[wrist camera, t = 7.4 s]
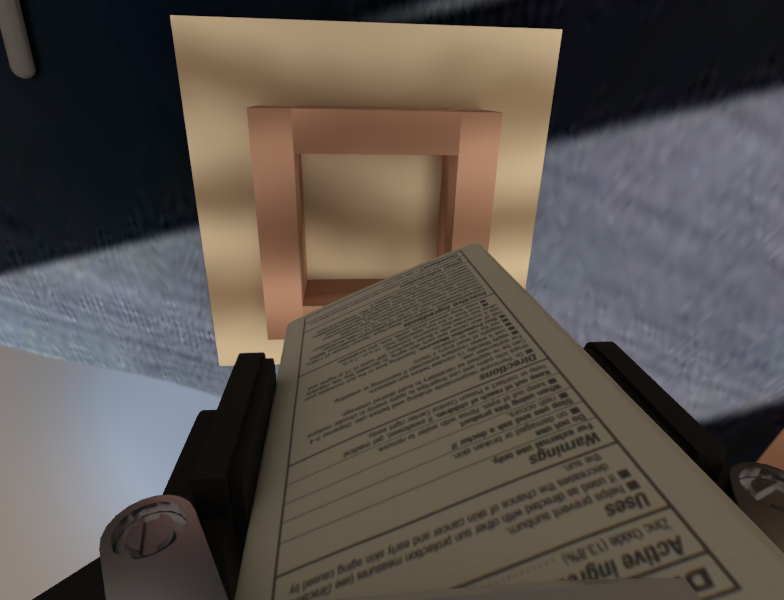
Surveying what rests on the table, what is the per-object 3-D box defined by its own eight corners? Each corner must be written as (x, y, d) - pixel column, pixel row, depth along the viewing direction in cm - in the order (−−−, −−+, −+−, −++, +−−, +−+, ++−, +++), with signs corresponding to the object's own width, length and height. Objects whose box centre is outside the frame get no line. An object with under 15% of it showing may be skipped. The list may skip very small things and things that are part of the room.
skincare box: (345, 426, 16) (348, 1228, 5) (283, 318, 14) (55, 1193, 3) (530, 353, 15) (1019, 1058, 4) (490, 232, 14) (1145, 894, 2)
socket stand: (176, 17, 25) (138, 2, 20) (554, 31, 26) (598, 19, 22) (222, 358, 33) (203, 402, 28) (510, 350, 34) (536, 390, 30)
